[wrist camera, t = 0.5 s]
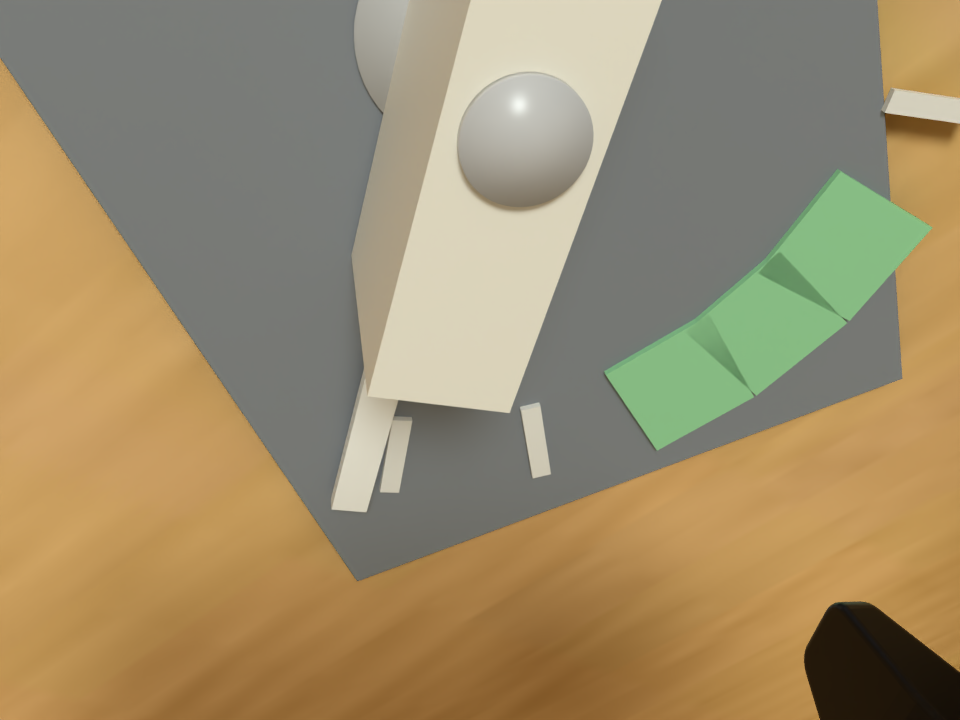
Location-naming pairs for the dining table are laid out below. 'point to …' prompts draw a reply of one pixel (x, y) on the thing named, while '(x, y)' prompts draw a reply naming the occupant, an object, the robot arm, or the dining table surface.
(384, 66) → the grey board
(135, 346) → the dining table surface
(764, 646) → the dining table surface
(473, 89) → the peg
